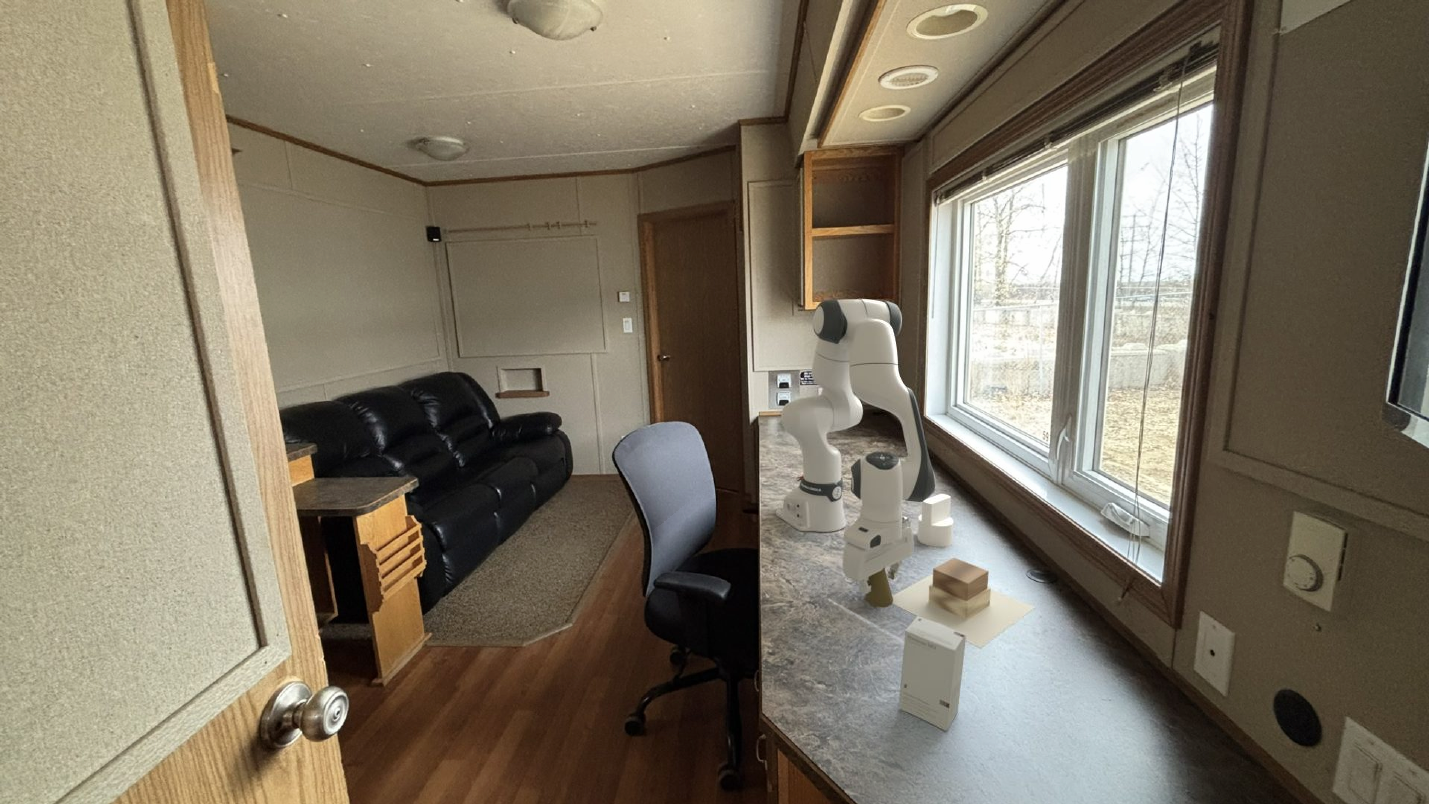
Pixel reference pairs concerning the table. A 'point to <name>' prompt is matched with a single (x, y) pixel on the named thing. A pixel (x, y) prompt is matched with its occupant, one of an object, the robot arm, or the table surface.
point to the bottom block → (959, 602)
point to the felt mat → (976, 628)
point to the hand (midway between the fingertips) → (879, 584)
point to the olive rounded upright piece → (879, 590)
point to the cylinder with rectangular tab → (936, 522)
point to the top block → (960, 578)
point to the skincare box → (932, 672)
